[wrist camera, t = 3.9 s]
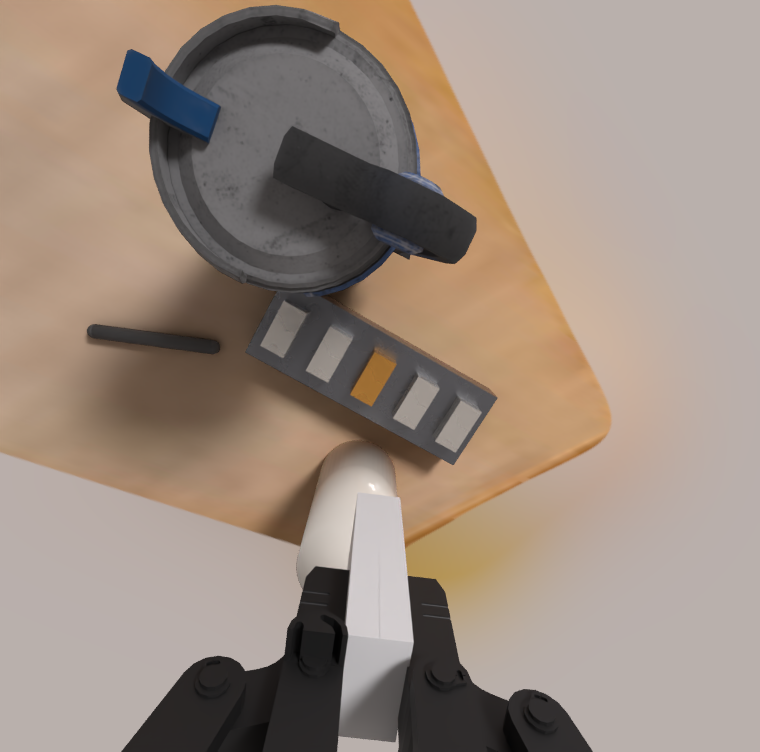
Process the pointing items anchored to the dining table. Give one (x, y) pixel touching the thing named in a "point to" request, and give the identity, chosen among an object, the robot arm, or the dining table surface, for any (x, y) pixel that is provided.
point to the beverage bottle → (289, 154)
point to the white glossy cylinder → (342, 503)
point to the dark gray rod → (153, 339)
